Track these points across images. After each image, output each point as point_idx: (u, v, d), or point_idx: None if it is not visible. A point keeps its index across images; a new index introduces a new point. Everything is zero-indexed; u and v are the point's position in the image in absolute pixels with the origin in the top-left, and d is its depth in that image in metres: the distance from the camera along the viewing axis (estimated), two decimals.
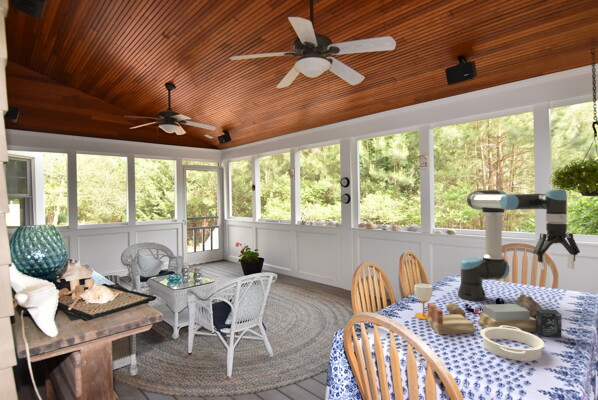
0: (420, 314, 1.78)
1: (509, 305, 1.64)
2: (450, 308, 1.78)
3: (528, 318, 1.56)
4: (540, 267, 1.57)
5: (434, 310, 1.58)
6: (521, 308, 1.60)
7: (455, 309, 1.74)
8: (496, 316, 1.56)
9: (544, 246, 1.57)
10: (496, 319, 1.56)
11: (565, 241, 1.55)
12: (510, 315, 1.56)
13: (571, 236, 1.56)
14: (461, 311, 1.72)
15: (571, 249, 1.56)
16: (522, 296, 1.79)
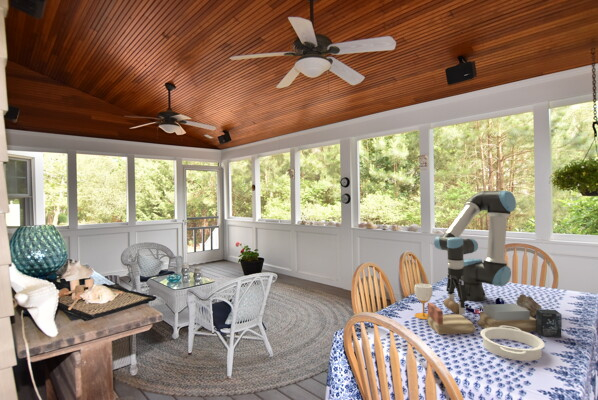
0: (420, 314, 1.78)
1: (509, 305, 1.64)
2: (447, 307, 1.78)
3: (528, 318, 1.56)
4: None
5: (434, 310, 1.58)
6: (521, 308, 1.60)
7: (450, 308, 1.74)
8: (496, 316, 1.56)
9: None
10: (496, 319, 1.56)
11: (455, 285, 1.74)
12: (510, 315, 1.56)
13: (459, 283, 1.71)
14: (455, 307, 1.72)
15: (458, 295, 1.72)
16: (522, 296, 1.79)
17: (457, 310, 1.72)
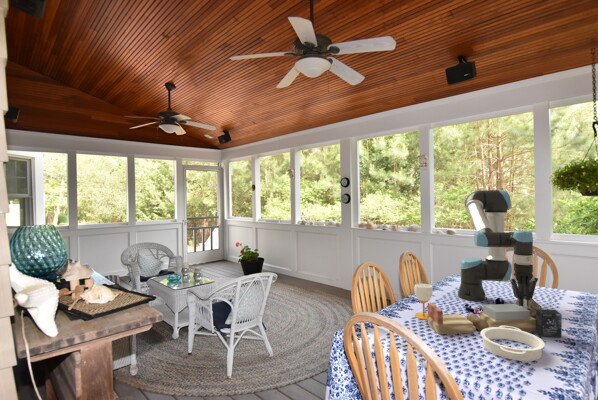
0: (420, 314, 1.78)
1: (509, 305, 1.64)
2: (472, 317, 1.62)
3: (528, 318, 1.56)
4: None
5: (434, 310, 1.58)
6: (521, 308, 1.60)
7: (479, 320, 1.58)
8: (496, 316, 1.56)
9: (519, 289, 1.61)
10: (496, 319, 1.56)
11: (528, 283, 1.60)
12: (510, 315, 1.56)
13: (535, 280, 1.60)
14: (485, 324, 1.56)
15: (527, 293, 1.60)
16: None
17: (482, 327, 1.56)
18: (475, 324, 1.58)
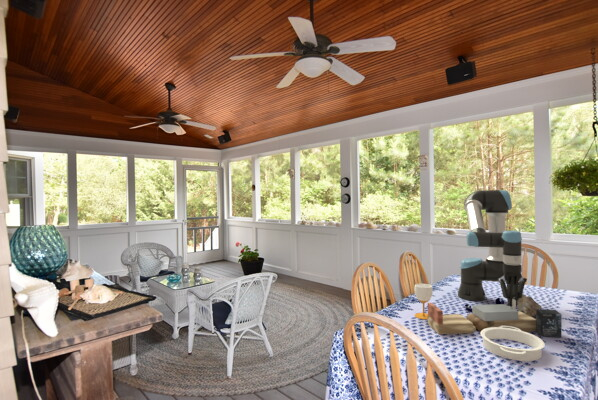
0: (420, 314, 1.78)
1: (498, 305, 1.64)
2: (472, 318, 1.62)
3: (517, 318, 1.56)
4: None
5: (434, 310, 1.58)
6: (510, 308, 1.60)
7: (479, 320, 1.58)
8: (485, 317, 1.56)
9: (508, 290, 1.61)
10: (485, 319, 1.56)
11: (517, 283, 1.59)
12: (498, 315, 1.56)
13: (524, 280, 1.60)
14: (485, 324, 1.56)
15: (516, 293, 1.60)
16: (522, 296, 1.79)
17: (482, 327, 1.56)
18: (475, 324, 1.58)
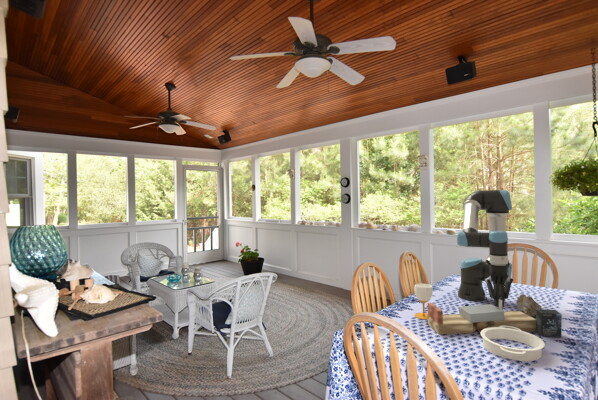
0: (420, 314, 1.78)
1: (485, 306, 1.64)
2: None
3: (503, 318, 1.56)
4: None
5: (434, 310, 1.58)
6: (497, 308, 1.60)
7: None
8: (471, 318, 1.55)
9: (495, 290, 1.61)
10: (471, 321, 1.55)
11: (503, 283, 1.59)
12: (485, 316, 1.56)
13: (510, 281, 1.60)
14: (483, 324, 1.56)
15: (503, 293, 1.60)
16: (522, 296, 1.79)
17: (481, 327, 1.56)
18: None
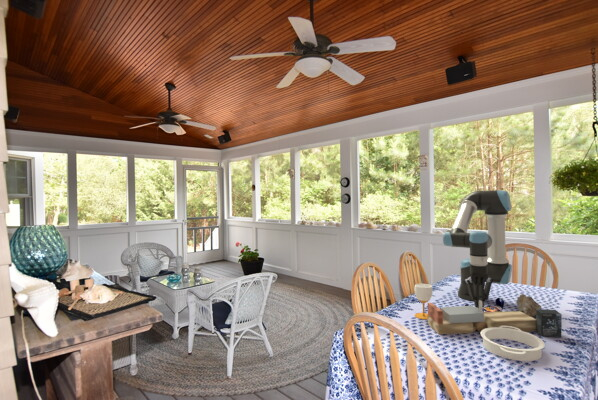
0: (420, 314, 1.78)
1: (465, 307, 1.64)
2: None
3: (483, 320, 1.56)
4: None
5: (434, 310, 1.58)
6: (477, 310, 1.59)
7: (474, 325, 1.58)
8: (451, 319, 1.55)
9: (475, 291, 1.60)
10: (450, 322, 1.55)
11: (483, 284, 1.59)
12: (464, 318, 1.55)
13: (491, 281, 1.60)
14: (480, 324, 1.56)
15: (483, 294, 1.60)
16: (522, 296, 1.79)
17: (482, 328, 1.56)
18: None
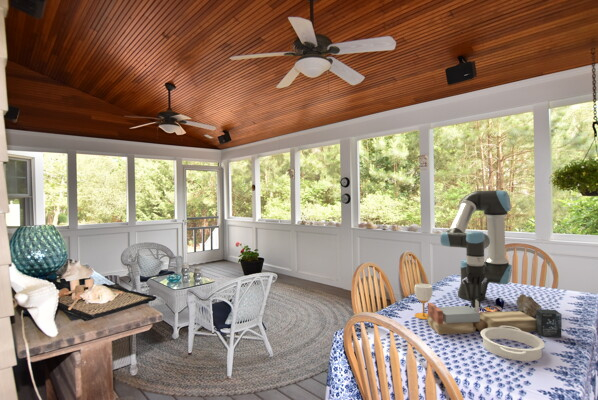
0: (420, 314, 1.78)
1: (461, 307, 1.64)
2: None
3: (478, 320, 1.56)
4: None
5: (434, 310, 1.58)
6: (473, 310, 1.60)
7: None
8: (447, 319, 1.55)
9: (471, 291, 1.60)
10: (447, 322, 1.55)
11: (480, 284, 1.59)
12: (460, 318, 1.56)
13: (487, 282, 1.59)
14: (479, 325, 1.56)
15: (479, 294, 1.59)
16: (522, 296, 1.79)
17: (483, 327, 1.56)
18: None
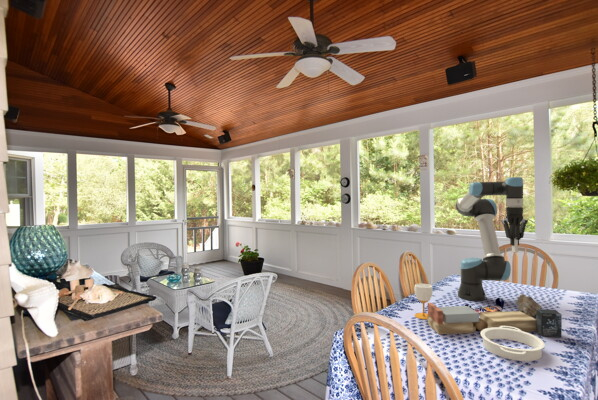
0: (420, 314, 1.78)
1: (460, 307, 1.64)
2: None
3: (478, 320, 1.57)
4: (512, 250, 1.79)
5: (434, 310, 1.58)
6: (472, 310, 1.60)
7: None
8: (447, 319, 1.55)
9: (511, 230, 1.78)
10: (446, 322, 1.55)
11: (519, 224, 1.76)
12: (460, 318, 1.56)
13: (525, 222, 1.77)
14: (479, 325, 1.56)
15: (518, 233, 1.77)
16: (522, 296, 1.79)
17: (483, 327, 1.56)
18: None
